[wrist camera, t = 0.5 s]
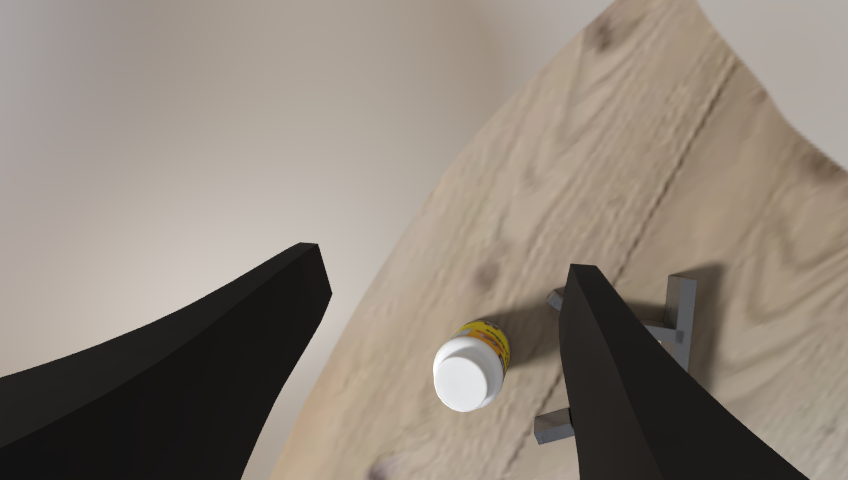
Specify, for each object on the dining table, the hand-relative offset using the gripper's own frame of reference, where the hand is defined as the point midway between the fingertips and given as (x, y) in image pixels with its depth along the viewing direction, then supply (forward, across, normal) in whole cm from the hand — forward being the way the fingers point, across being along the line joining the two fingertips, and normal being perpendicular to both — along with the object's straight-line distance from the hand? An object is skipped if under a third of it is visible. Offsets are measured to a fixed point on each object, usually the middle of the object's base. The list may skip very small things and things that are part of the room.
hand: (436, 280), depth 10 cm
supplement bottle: (+16, -1, +22) cm, 27 cm away
